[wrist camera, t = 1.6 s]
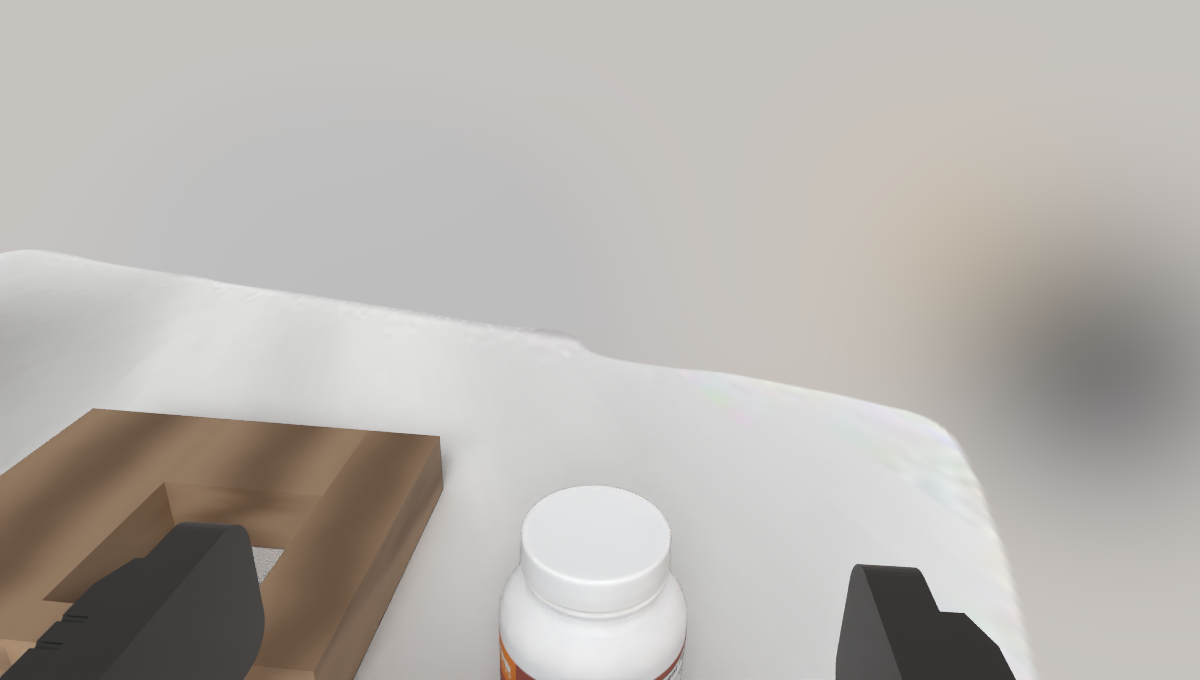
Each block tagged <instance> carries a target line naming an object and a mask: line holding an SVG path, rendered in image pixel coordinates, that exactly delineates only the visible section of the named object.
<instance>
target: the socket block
mask: <svg viewBox="0 0 1200 680" xmlns="http://www.w3.org/2000/svg"><path fill="white" fill-rule="evenodd" d="M442 490H443V481H442V465H441V450H440V436H429V435H416V434H404V433H392V432H379V431H367V430H354V429H342V428H330V427H317V426H305V425H292V424H280V423H267V422H255V421H243V420H230V419H218V418H205V417H193V416H181V415H168V414H156V413H143V412H131V411H118V410H106V409H94V408H93V409H92V410H90V411H89V412H88V413H86V414H85V415H84V416H82V417H81V418H79V419H78V420H77V421H75V422H74V423H72V424H71V425H70V426H68V427H67V428H66V429H64V430H63V431H61V432H60V433H59V434H57V435H56V436H55V437H53V438H52V439H50V440H49V441H48V442H46V443H45V444H44V445H42V446H41V447H39V448H38V449H37V450H35V451H34V452H32V453H31V454H30V455H28V456H27V457H26V458H24V459H23V460H21V461H20V462H19V463H17V464H16V465H15V466H13V467H12V468H10V469H9V470H8V471H6V472H5V473H4V474H2V475H1V476H0V677H1V676H2V675H3V674H4V673H5V672H6V671H7V670H8V669H9V668H10V667H11V666H12V665H13V664H14V663H15V662H16V661H17V660H18V659H19V658H20V657H21V656H22V655H23V654H24V653H25V652H26V651H27V650H28V649H29V648H35V646H36V641H37V640H38V639H39V638H40V637H41V636H42V635H43V634H44V633H45V632H46V631H47V630H48V629H49V628H50V627H51V626H52V625H53V624H54V623H55V622H56V621H61V620H62V618H63V614H64V613H65V612H66V611H67V610H68V609H69V608H70V607H71V606H72V605H73V604H74V603H75V602H76V601H77V600H78V599H79V598H80V597H81V596H82V595H83V594H84V593H85V592H86V591H87V590H88V589H89V588H90V587H91V586H92V585H93V584H94V583H95V582H97V581H99V580H100V579H102V578H104V577H105V576H107V575H108V574H110V573H112V572H113V571H115V570H116V569H118V568H120V567H121V566H123V565H125V564H126V563H128V562H129V561H131V560H133V559H134V558H145V557H146V556H147V555H148V554H149V553H150V551H151V550H152V549H153V548H154V547H155V546H156V545H157V544H158V543H159V542H160V541H161V540H162V539H163V538H164V537H165V536H166V535H167V534H168V533H169V532H170V530H171V529H172V528H174V527H175V526H176V525H177V524H179V523H181V522H204V523H221V524H237V525H241V526H243V527H244V528H245V529H246V531H247V532H248V535H249V538H250V542H251V546H255V547H266V548H277V549H285V550H284V552H283V553H282V555H281V556H280V558H279V559H278V560H277V562H276V563H275V565H274V566H273V568H272V569H271V570H270V572H269V573H268V575H267V576H266V578H265V579H264V580H263V582H262V583H261V585H260V586H259V588H260V593H261V598H262V603H263V608H264V614H265V628H264V635H263V640H262V644H261V647H260V650H259V653H258V655H257V658H256V660H255V662H254V664H253V665H252V667H251V668H250V670H249V672H248V673H247V675H246V676H245V678H244V680H353V679H354V676H355V674H356V672H357V670H358V668H359V666H360V664H361V662H362V660H363V657H364V655H365V653H366V651H367V649H368V647H369V645H370V643H371V641H372V638H373V636H374V634H375V632H376V630H377V628H378V626H379V624H380V621H381V619H382V617H383V615H384V613H385V611H386V609H387V607H388V605H389V602H390V600H391V598H392V596H393V594H394V592H395V590H396V588H397V586H398V583H399V581H400V579H401V577H402V575H403V573H404V571H405V569H406V567H407V564H408V562H409V560H410V558H411V556H412V554H413V552H414V550H415V547H416V545H417V543H418V541H419V539H420V537H421V535H422V533H423V531H424V528H425V526H426V524H427V522H428V520H429V518H430V516H431V514H432V512H433V509H434V507H435V505H436V503H437V501H438V499H439V497H440V495H441V493H442Z"/></svg>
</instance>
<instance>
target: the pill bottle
mask: <svg viewBox="0 0 1200 680" xmlns="http://www.w3.org/2000/svg"><path fill="white" fill-rule="evenodd" d="M670 553H671V532H670V528H669V525H668V522H667V520H666V518H665V517H664V515H663V514H662V513H661V512H660V510H659V509H658V508H657V507H656V506H655V505H653V504H652V503H651V502H649V501H648V500H646V499H645V498H643V497H641V496H639V495H637V494H635V493H632V492H630V491H627V490H624V489H620V488H615V487H611V486H602V485H585V486H576V487H570V488H566V489H563V490H560V491H557V492H554V493H552V494H550V495H548V496H546V497H545V498H543V499H542V500H540V501H539V502H538V503H536V504H535V505H534V506H533V507H532V508H531V510H530V511H529V512H528V514H527V515H526V517H525V519H524V521H523V525H522V529H521V547H520V564H519V565H518V566H517V567H516V568H515V570H514V571H513V573H512V574H511V576H510V577H509V579H508V581H507V583H506V585H505V587H504V590H503V593H502V597H501V602H500V611H499V642H500V674H501V680H681V671H682V663H683V655H684V647H685V640H686V631H687V605H686V600H685V596H684V593H683V590H682V588H681V586H680V584H679V582H678V580H677V578H676V577H675V575H674V574H673V573H672V571H671V570H670V569H669V568H670Z"/></svg>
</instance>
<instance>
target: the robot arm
mask: <svg viewBox="0 0 1200 680" xmlns="http://www.w3.org/2000/svg"><path fill="white" fill-rule="evenodd" d="M264 628H265V614H264V608H263V603H262V598H261V593H260V588H259V583H258V578H257V573H256V568H255V563H254V558H253V552H252V547H251V542H250V538H249V535H248V532H247V531H246V529H245V528H244V527H243V526H241V525H237V524H221V523H204V522H181V523H179V524H177V525H176V526H175V527H174V528H172V529H171V530H170V532H169V533H168V534H167V535H166V536H165V537H164V538H163V539H162V540H161V541H160V542H159V543H158V544H157V545H156V546H155V547H154V548H153V549H152V550H151V551H150V553H149V554H148V555H147V556H146V557H145V558H134V559H133V560H131V561H129V562H128V563H126V564H125V565H123V566H121V567H120V568H118V569H116V570H115V571H113V572H112V573H110V574H108V575H107V576H105V577H104V578H102V579H100V580H99V581H97V582H95V583H94V584H93V585H92V586H91V587H90V588H89V589H88V590H87V591H86V592H85V593H84V594H83V595H82V596H81V597H80V598H79V599H78V600H77V601H76V602H75V603H74V604H73V605H72V606H71V607H70V608H69V609H68V610H67V611H66V612H65V613H64V614H63V618H62V620H61V621H56V622H55V623H54V624H53V625H52V626H51V627H50V628H49V629H48V630H47V631H46V632H45V633H44V634H43V635H42V636H41V637H40V638H39V639H38V640H37V641H36V646H35V648H29V649H28V650H27V651H26V652H25V653H24V654H23V655H22V656H21V657H20V658H19V659H18V660H17V661H16V662H15V663H14V664H13V665H12V666H11V667H10V668H9V669H8V670H7V671H6V672H5V673H4V674H3V675H2V676H1V677H0V680H244V678H245V676H246V675H247V673H248V672H249V670H250V668H251V667H252V665H253V664H254V662H255V660H256V658H257V655H258V653H259V650H260V647H261V644H262V640H263V635H264ZM836 680H1016V679H1015V677H1014V675H1013V673H1012V671H1011V669H1010V667H1009V666H1008V664H1007V662H1006V660H1005V658H1004V656H1003V654H1002V652H1001V650H1000V648H999V646H998V645H997V644H996V643H994V642H993V641H992V640H991V639H990V638H989V637H988V636H987V635H986V634H985V633H984V632H983V631H982V630H981V629H980V628H979V627H978V626H977V625H976V624H975V623H974V622H973V621H972V620H971V619H970V618H969V617H968V616H967V615H966V614H965V613H953V612H940V611H939V609H938V607H937V605H936V603H935V600H934V598H933V596H932V594H931V592H930V589H929V587H928V585H927V583H926V581H925V578H924V576H923V575H922V573H921V572H920V570H919V569H917V568H912V567H896V566H879V565H863V564H857V565H855V566H854V568H853V570H852V573H851V576H850V582H849V587H848V593H847V599H846V604H845V610H844V616H843V622H842V627H841V633H840V639H839V644H838V650H837V657H836Z"/></svg>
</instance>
